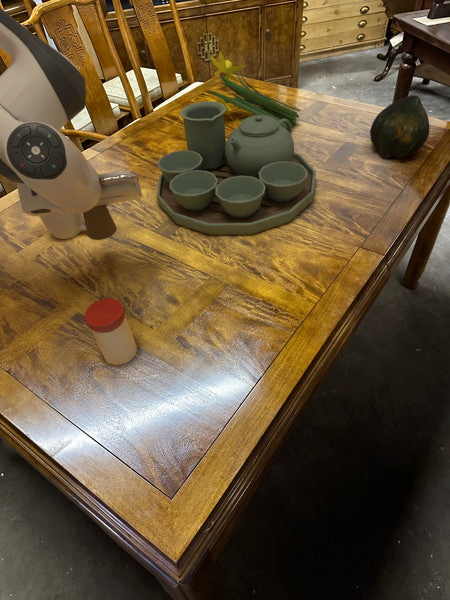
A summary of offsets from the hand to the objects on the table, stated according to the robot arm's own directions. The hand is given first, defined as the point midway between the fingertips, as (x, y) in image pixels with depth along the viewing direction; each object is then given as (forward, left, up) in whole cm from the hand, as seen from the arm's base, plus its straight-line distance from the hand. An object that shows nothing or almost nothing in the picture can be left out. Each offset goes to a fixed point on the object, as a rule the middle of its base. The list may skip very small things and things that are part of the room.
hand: (93, 204), depth 82 cm
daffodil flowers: (+40, +63, -14) cm, 76 cm away
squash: (+75, +32, -14) cm, 83 cm away
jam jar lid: (+4, -27, -4) cm, 27 cm away
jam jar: (+4, -27, -14) cm, 30 cm away
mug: (-10, +11, -14) cm, 21 cm away
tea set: (+30, +21, -14) cm, 40 cm away
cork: (0, -1, -6) cm, 6 cm away
